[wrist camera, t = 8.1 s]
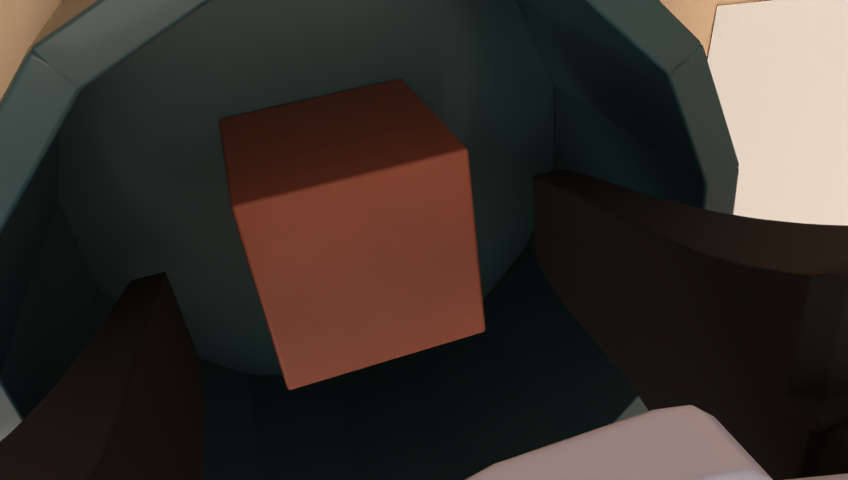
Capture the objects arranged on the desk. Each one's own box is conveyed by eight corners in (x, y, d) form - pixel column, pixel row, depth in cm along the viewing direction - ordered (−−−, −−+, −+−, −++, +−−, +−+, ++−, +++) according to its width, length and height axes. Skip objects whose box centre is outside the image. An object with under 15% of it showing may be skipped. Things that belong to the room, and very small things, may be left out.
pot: (143, 442, 19) (131, 672, 14) (-101, -65, 12) (-306, 9, 7) (574, 311, 22) (702, 465, 16) (568, -172, 15) (785, -176, 10)
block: (264, 276, 17) (287, 392, 14) (217, 118, 15) (231, 207, 12) (424, 233, 18) (487, 332, 15) (402, 77, 16) (469, 148, 12)
